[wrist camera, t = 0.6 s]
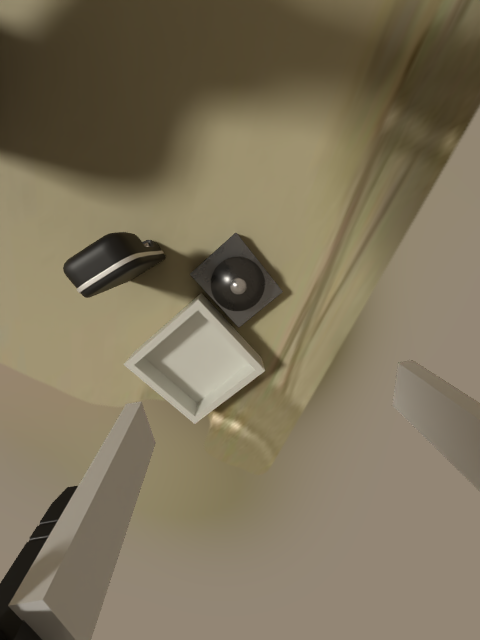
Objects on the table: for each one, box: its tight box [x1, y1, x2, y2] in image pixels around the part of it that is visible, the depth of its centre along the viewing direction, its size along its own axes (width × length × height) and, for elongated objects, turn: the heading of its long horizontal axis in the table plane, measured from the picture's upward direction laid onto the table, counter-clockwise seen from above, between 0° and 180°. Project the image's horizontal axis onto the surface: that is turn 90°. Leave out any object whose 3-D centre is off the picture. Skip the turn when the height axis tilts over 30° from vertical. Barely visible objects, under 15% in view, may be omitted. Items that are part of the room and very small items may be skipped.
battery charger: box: [63, 232, 166, 298], centre depth 25 cm, size 7×4×11 cm, turn 120°
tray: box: [124, 293, 265, 424], centre depth 34 cm, size 14×14×4 cm
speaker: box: [190, 233, 283, 327], centre depth 31 cm, size 10×8×4 cm
